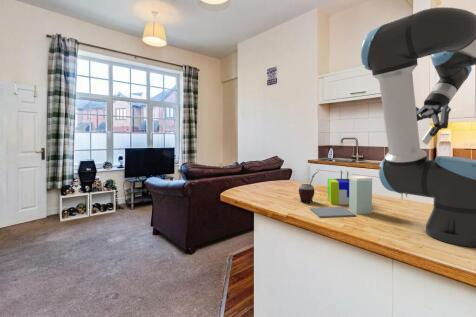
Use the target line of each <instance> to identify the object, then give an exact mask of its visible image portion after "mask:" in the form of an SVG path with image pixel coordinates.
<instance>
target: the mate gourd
mask: <svg viewBox="0 0 476 317" xmlns="http://www.w3.org/2000/svg"><path fill="white" fill-rule="evenodd" d="M318 173H320V171H319V170H317V171H316V172H314V174H312V176H311V178H310V182H309V184H308V183H305V184H304V183H303V184H300V186H299V187H298V195H299V199H300V202H304V203H306V204H307V203H308V204H309V203H312V202H313V198H314V196H315V187H314V185H312V182H313V180H314V178H315V176H316V174H318Z"/></svg>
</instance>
